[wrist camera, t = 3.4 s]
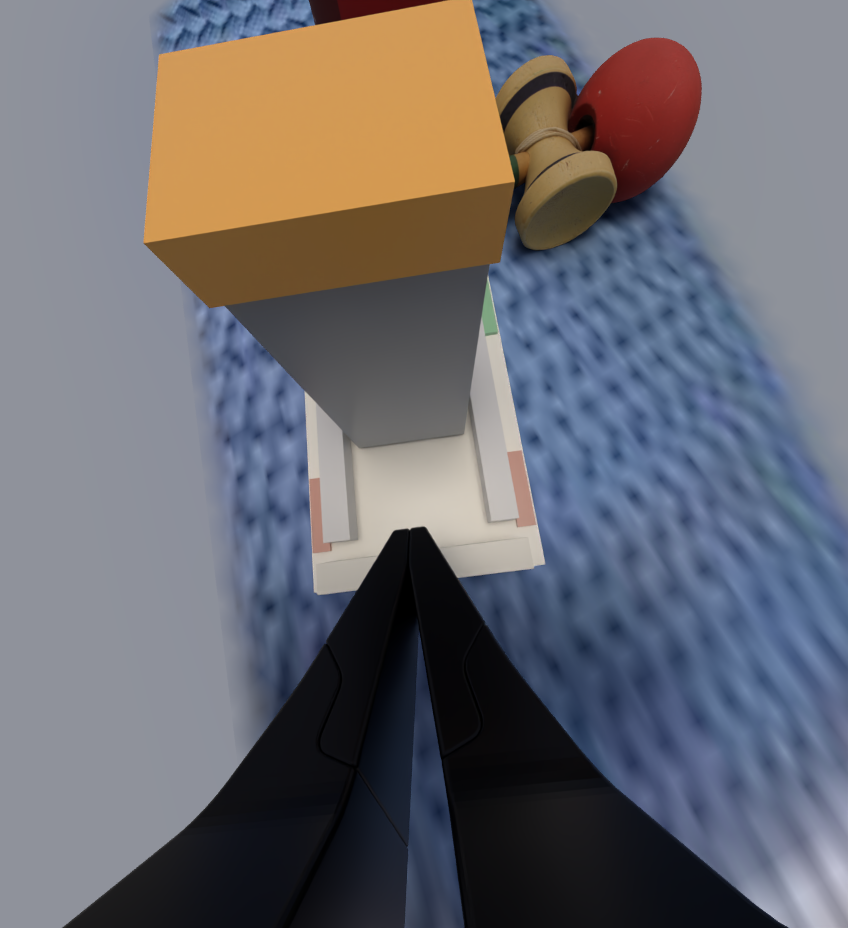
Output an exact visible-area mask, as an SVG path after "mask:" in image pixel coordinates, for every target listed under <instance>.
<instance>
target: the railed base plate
mask: <svg viewBox="0 0 848 928" xmlns="http://www.w3.org/2000/svg"><path fill="white" fill-rule="evenodd" d="M305 406H306V428H307V450H308V472H309V494H310V516H311V538H312V560H313V581H314V593H317V595H322V594H331V593H339V592H347V591H355V590H358V588H359V586H360V585H361V583H362V581H363V580H364V578H365V576H366V575H367V573H368V572H369V570H370V568H371V567H372V565H373V563H374V562H375V560H376V558H377V557H378V555H379V554H380V552H381V550H382V549H383V547H384V545H385V544H386V542H387V540H388V539H389V537H390V536H391V534H392V532H393V531H394V530H398V529H405V528H408V529H409V530H410V529H411V528H413V527H421V526H425V527H426V528H427V529H428V531H429V533H430V534H431V536H432V537H433V539H434V541H435V542H436V544H437V546H438V547H439V549H440V550H441V552H442V554H443V555H444V557H445V558H446V560H447V562H448V563H449V565H450V567H451V568H452V570H453V571H454V573H455V575H456V576H457V578H461V577H469V576H477V575H485V574H493V573H501V572H509V571H518V570H526V569H534V566H536V565H544V564H545V560H544V555H543V550H542V545H541V540H540V535H539V530H538V525H537V519H536V514H535V509H534V504H533V499H532V494H531V489H530V484H529V479H528V474H527V469H526V464H525V459H524V454H523V449H522V444H521V439H520V434H519V429H518V424H517V419H516V414H515V409H514V404H513V399H512V394H511V388H510V383H509V378H508V373H507V368H506V363H505V358H504V353H503V348H502V343H501V338H500V333H499V328H498V323H497V318H496V313H495V308H494V303H493V298H492V293H491V288H490V283H489V278H488V277H487V284H486V291H485V297H484V304H483V311H482V317H481V324H480V330H479V337H478V344H477V350H476V357H475V364H474V370H473V377H472V384H471V390H470V397H469V404H468V410H467V417H466V424H465V430H464V434H458V435H451V436H444V437H436V438H429V439H422V440H415V441H408V442H400V443H393V444H386V445H379V446H372V447H364V448H358V447H357V446H356V445H355V444H354V443H353V441H352V440H351V439H350V438H349V437H348V436H347V435H346V434H345V433H344V432H343V431H342V430H341V429H340V428H339V427H338V426H337V424H336V423H335V422H334V421H333V420H332V419H331V418H330V417H329V416H328V415H327V414H326V413H325V412H324V411H323V410H322V409H321V407H320V406H319V405H318V404H317V403H316V402H315V401H314V400H313V399H312V398H311V397H310V396H309V395H308V394H307V393H306V392H305Z"/></svg>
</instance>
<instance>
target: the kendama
mask: <svg viewBox="0 0 848 928" xmlns="http://www.w3.org/2000/svg"><path fill="white" fill-rule="evenodd" d="M701 90H702V87H701V77H700V73H699V69H698V66H697V64H696V62H695V60H694V58H693V56H692V55H691V54H690V52H689V51H688V50H687V49H686V48H685V47H684V46H682V45H681V44H679V43H677V42H675V41H673V40H670V39H665V38H648V39H643V40H640V41H637V42H634V43H632V44H630V45H628V46H626V47H624V48H623V49H621V50H620V51H618V52H616V53H615V54H614V55H612V56H611V57H610V58H609V59H608V60H607V61H605V62H604V63H603V64H602V65H601V66H600V67H599V68H598V69H597V71H596V72H595V73H594V74H593V75H592V77H591V78H590V79H589V81H588V82H587V83H586V85H585V86H584V88H583V89H582V91H581V93H580V94H579V96H578V95H577V94H576V93H577V87H576V83H575V80H574V77H573V75H572V73H571V71H570V69H569V67H568V66H567V64H566V63H565V62H564V60H562V59H561V58H559V57H557V56H552V55H547V56H540V57H537V58H534V59H533V60H530V61H529V62H527V63H525V64H524V65H522V66H521V67H520V68H518V69H517V70H516V71H515V72H514V73H513V74H512V75H511V76H510V77H509V79H508V80H507V81H506V82H505V84H504V85H503V87H502V88H501V90H500V91H499V93H498V95H497V97H496V99H495V100H496V104H497V108H498V112H499V116H500V121H501V125H502V129H503V133H504V137H505V142H506V146H507V150H508V154H509V158H510V163H511V167H512V171H513V175H514V179H515V184H514V189H515V188H516V187H518V186H520V185H522V184H523V183H525V192H524V196H523V197H522V199H521V201H520V203H519V205H518V208H517V211H516V214H515V224H516V228H517V230H518V233H519V235H520V238H521V240H522V242H523V244H524V246H525V247H527V248H528V249H532V250H545V249H550V248H553V247H557V246H560V245H562V244H564V243H566V242H569V241H570V240H572V239H574V238H576V237H577V236H578V235H580V234H582V233H583V232H584V231H586V230H587V229H588V228H589V227H590V226H592V225H593V224H594V223H595V222H596V221H597V220H598V219H599V218H600V217H601V216H602V214H603V213H604V212H605V211H606V209H607V208H608V207H609V205H610V204H611V203H616V202H621V201H624V200H627V199H630V198H632V197H635V196H637V195H638V194H640V193H642V192H644V191H645V190H647V189H648V188H649V187H651V186H652V185H653V184H655V183H656V182H657V181H658V180H659V179H660V178H662V177H663V176H664V174H665V173H666V172H667V171H668V170H669V169H670V168H671V167H672V165H673V164H674V163H675V162H676V160H677V159H678V158H679V156H680V155H681V153H682V151H683V150H684V148H685V147H686V145H687V143H688V141H689V139H690V137H691V134H692V132H693V130H694V127H695V125H696V121H697V118H698V114H699V110H700V104H701Z"/></svg>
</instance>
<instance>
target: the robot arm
mask: <svg viewBox="0 0 848 928" xmlns="http://www.w3.org/2000/svg"><path fill="white" fill-rule="evenodd" d="M419 632H420V638H421V643H422V649H423V655H424V661H425V667H426V673H427V679H428V685H429V691H430V697H431V703H432V709H433V715H434V721H435V727H436V733H437V739H438V745H439V750H440V756H441V760H442V768H443V774H444V781H445V787H446V793H447V800H448V806H449V814H450V821H451V828H452V836H453V843H454V851H455V858H456V866H457V873H458V881H459V889H460V896H461V904H462V911H463V919H464V926H465V928H788V927H787V926H785V925H783V924H781V923H780V922H778V921H777V920H775V919H774V918H773V917H771V916H770V915H769V914H767V913H766V912H765V911H763V910H762V909H761V908H759V907H758V906H757V905H755V904H754V903H753V902H751V901H750V900H749V899H748V898H747V897H746V896H744V895H743V894H742V893H741V892H740V891H738V890H737V889H736V888H735V887H734V886H732V885H731V884H730V883H729V882H728V881H726V880H725V879H724V878H723V877H722V876H721V875H719V874H718V873H717V872H716V871H715V870H713V869H712V868H711V867H710V866H709V865H707V864H706V863H705V862H704V861H703V860H701V859H700V858H699V857H698V856H697V855H696V854H694V853H693V852H692V851H691V850H690V849H688V848H687V847H686V846H685V845H684V844H682V843H681V842H680V841H679V840H678V839H676V838H675V837H674V836H673V835H672V834H671V833H669V832H668V831H667V830H666V829H665V828H663V827H662V826H661V825H660V824H659V823H657V822H656V821H655V820H654V819H653V818H651V817H650V816H649V815H648V814H647V813H646V812H644V811H643V810H642V809H641V808H640V807H638V806H637V805H636V804H635V803H634V802H632V801H631V800H630V799H629V798H628V797H626V796H625V795H624V794H623V793H622V792H621V791H619V790H618V789H617V788H616V787H615V786H614V785H613V784H612V783H611V782H610V781H609V780H608V779H607V778H606V777H605V776H604V775H603V774H602V773H601V772H600V771H599V770H598V769H597V768H596V767H595V766H594V765H593V763H592V762H591V761H590V760H589V759H588V758H587V757H586V756H585V754H584V753H583V752H582V751H581V750H580V748H579V747H578V746H577V745H576V744H575V742H574V741H573V740H572V739H571V737H570V736H569V735H568V734H567V732H566V731H565V730H564V729H563V727H562V726H561V725H560V724H559V722H558V721H557V720H556V719H555V717H554V716H553V715H552V714H551V712H550V711H549V710H548V709H547V708H546V706H545V705H544V704H543V703H542V701H541V700H540V699H539V698H538V696H537V695H536V694H535V693H534V691H533V690H532V689H531V688H530V686H529V685H528V684H527V683H526V681H525V680H524V679H523V677H522V676H521V675H520V673H519V672H518V671H517V669H516V668H515V667H514V665H513V664H512V663H511V661H510V660H509V658H508V657H507V655H506V654H505V652H504V651H503V649H502V648H501V646H500V645H499V643H498V642H497V640H496V639H495V637H494V636H493V634H492V632H491V631H490V629H489V628H488V626H487V625H485V621H484V620H483V618H482V617H481V615H480V613H479V612H478V610H477V609H476V607H475V605H474V604H473V602H472V600H471V599H470V597H469V596H468V594H467V592H466V591H465V589H464V588H463V586H462V584H461V583H460V581H459V579H458V578H457V576H456V575H455V573H454V571H453V570H452V568H451V567H450V565H449V563H448V562H447V560H446V558H445V557H444V555H443V554H442V552H441V550H440V549H439V547H438V546H437V544H436V542H435V541H434V539H433V537H432V536H431V534H430V533H429V531H428V529H427V528H426V527H425V526H421V527H413V528H411V529H410V530H409V529H408V528H405V529H398V530H394V531H393V532H392V534H391V536H390V537H389V539H388V540H387V542H386V544H385V545H384V547H383V549H382V550H381V552H380V554H379V555H378V557H377V558H376V560H375V562H374V563H373V565H372V567H371V568H370V570H369V572H368V573H367V575H366V576H365V578H364V580H363V581H362V583H361V585H360V586H359V588H358V590H357V591H356V593H355V595H354V596H353V598H352V599H351V601H350V603H349V604H348V606H347V608H346V609H345V611H344V613H343V614H342V616H341V617H340V619H339V621H338V622H337V624H336V626H335V627H334V629H333V631H332V632H331V634H330V635H329V637H328V639H327V640H326V643H327V644H324V645H323V647H322V648H321V650H320V652H319V653H318V655H317V657H316V658H315V660H314V661H313V663H312V664H311V666H310V668H309V669H308V671H307V672H306V674H305V675H304V677H303V678H302V680H301V681H300V683H299V685H298V686H297V687H296V689H295V690H294V692H293V693H292V694H291V696H290V697H289V699H288V700H287V701H286V703H285V704H284V706H283V707H282V708H281V710H280V711H279V713H278V714H277V715H276V717H275V718H274V719H273V721H272V722H271V723H270V725H269V726H268V727H267V729H266V730H265V731H264V733H263V734H262V735H261V737H260V738H259V740H258V741H257V742H256V744H255V745H254V746H253V748H252V749H251V750H250V752H249V753H248V754H247V756H246V757H245V758H244V760H243V761H242V762H241V764H240V765H239V766H238V768H237V769H236V771H235V772H234V773H233V775H232V776H231V777H230V779H229V780H228V781H227V783H226V784H225V785H224V787H223V788H222V789H221V790H220V792H219V793H218V794H217V795H216V796H215V798H214V799H213V800H212V801H211V802H210V803H209V804H208V806H207V807H206V808H205V809H204V810H203V811H202V812H201V813H200V814H199V815H198V816H197V817H196V818H195V819H194V820H193V821H192V822H191V823H190V824H189V825H188V826H187V827H186V828H185V829H184V830H183V831H181V832H180V833H179V834H178V835H177V836H175V837H174V838H173V839H172V840H170V841H169V842H168V843H167V844H166V845H164V846H163V847H162V848H161V849H159V850H158V851H157V852H156V853H154V854H153V855H152V856H151V857H149V858H148V859H147V860H146V861H145V862H143V863H142V864H141V865H139V866H138V867H137V868H136V869H134V870H133V871H132V872H131V873H130V874H129V875H127V876H126V877H125V878H123V879H122V880H121V881H120V882H118V884H116V885H115V886H113V887H112V888H111V889H110V890H109V891H107V892H106V893H105V894H104V895H102V896H101V897H100V898H99V899H97V900H96V901H95V902H94V903H92V904H91V905H90V906H89V907H87V908H86V909H85V910H84V911H82V912H81V913H80V914H79V915H78V916H76V917H75V918H74V919H73V920H71V921H70V922H69V923H68V924H66V925H65V926H64V927H63V928H404V924H405V903H406V883H407V862H408V848H407V846H408V840H409V819H410V799H411V778H412V757H413V737H414V716H415V695H416V675H417V654H418V633H419Z"/></svg>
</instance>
